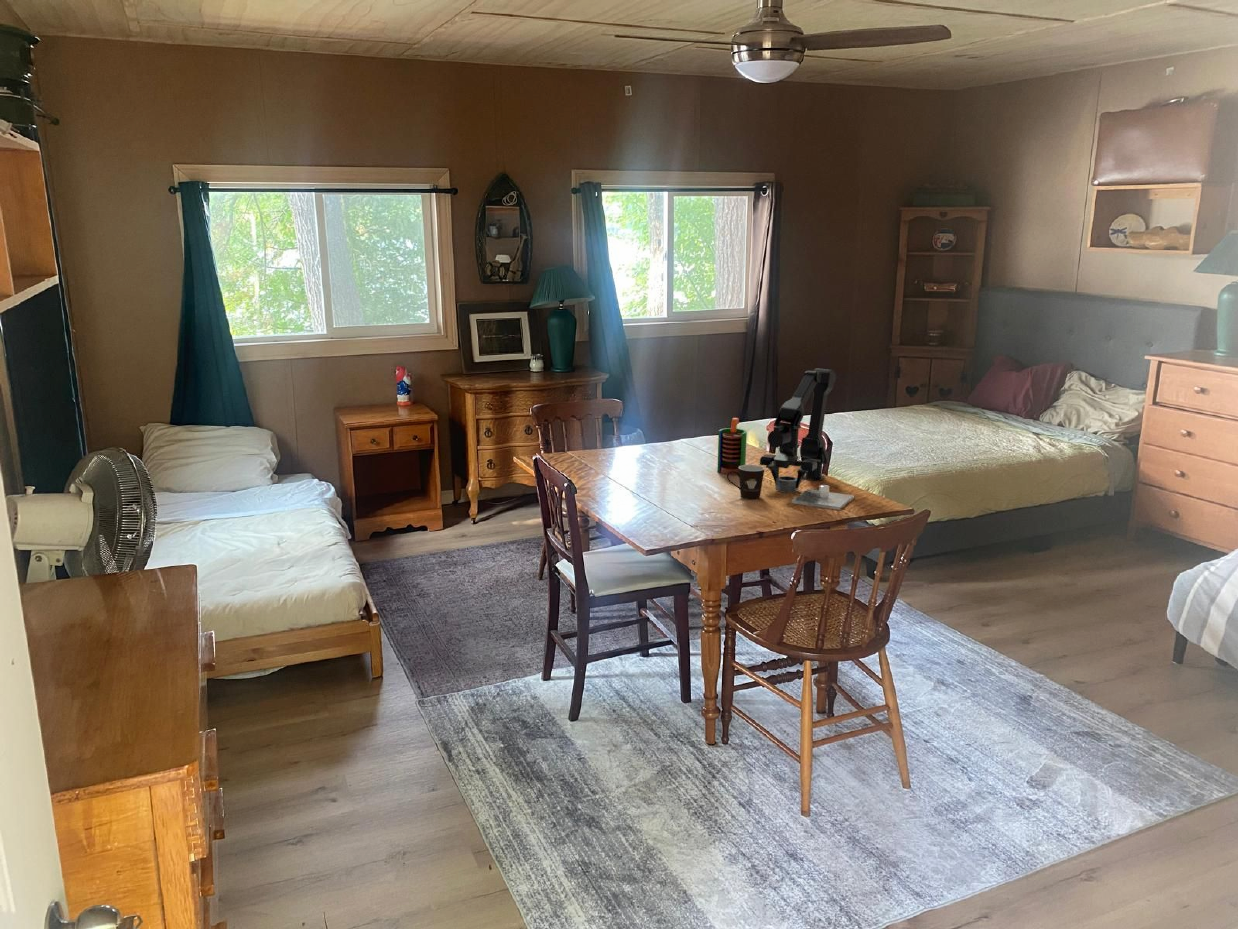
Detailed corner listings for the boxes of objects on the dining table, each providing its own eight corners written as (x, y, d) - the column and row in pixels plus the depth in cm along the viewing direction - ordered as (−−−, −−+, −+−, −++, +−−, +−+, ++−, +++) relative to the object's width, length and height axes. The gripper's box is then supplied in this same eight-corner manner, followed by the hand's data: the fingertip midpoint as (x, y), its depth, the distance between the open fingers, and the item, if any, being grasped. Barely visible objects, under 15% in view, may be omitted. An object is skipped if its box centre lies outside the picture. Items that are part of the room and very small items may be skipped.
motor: (716, 474, 345) (717, 420, 340) (719, 468, 353) (721, 416, 348) (743, 476, 342) (746, 422, 338) (746, 470, 351) (748, 417, 346)
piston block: (807, 491, 322) (808, 477, 321) (853, 498, 314) (854, 483, 313) (791, 503, 308) (792, 488, 307) (839, 510, 301) (840, 495, 300)
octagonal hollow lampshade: (780, 486, 329) (781, 475, 328) (799, 488, 326) (800, 477, 325) (773, 490, 323) (774, 479, 322) (793, 493, 320) (793, 482, 319)
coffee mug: (767, 495, 317) (768, 467, 314) (757, 501, 310) (758, 472, 307) (735, 490, 322) (736, 462, 320) (724, 496, 315) (726, 467, 313)
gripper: (754, 443, 318) (752, 488, 322) (808, 450, 309) (805, 496, 313) (766, 437, 327) (764, 481, 331) (818, 443, 319) (816, 488, 322)
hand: (787, 486), depth 324 cm, fingers open, 7 cm apart
